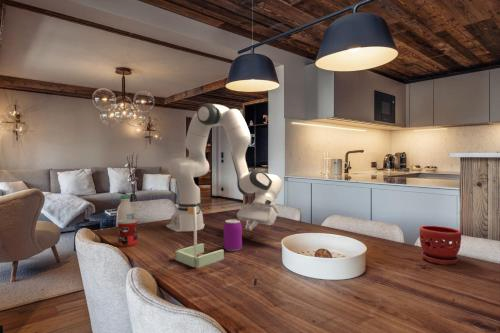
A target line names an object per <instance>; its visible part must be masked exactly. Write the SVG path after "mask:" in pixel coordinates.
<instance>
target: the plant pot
mask: <svg viewBox="0 0 500 333" xmlns="http://www.w3.org/2000/svg"><path fill="white" fill-rule="evenodd" d="M450 242H451V243H450ZM419 243H420V247H421V249H422V252H421V254H420V255H421V257H422V258H423V259H424V260H426V261H428V262H430V263H433V264H437V263H438V264H437V265H453V264H456V263H457V262H458V261H459V257H457V255H458V253H459V252H460V248H461V244H462V231H461V230H459V229H455V228H453V227H449V226H448V227H447V226H439V225H438V226H437V225H422V226H420V227H419Z"/></svg>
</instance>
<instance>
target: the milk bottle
mask: <svg viewBox="0 0 500 333" xmlns="http://www.w3.org/2000/svg"><path fill="white" fill-rule="evenodd" d="M124 219H135V212H134V208H133V205H132V204H131V195H130V194H121V195H120V204H119V207H118V209H117V222H118V221H120V220H124Z"/></svg>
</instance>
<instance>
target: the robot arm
mask: <svg viewBox="0 0 500 333" xmlns="http://www.w3.org/2000/svg"><path fill="white" fill-rule="evenodd" d="M213 127H223V129H224V131H225V135H226V138H227V140H228V143H229V147H230V155H231V159H232V162H233V166H234V170H235V174H236V180H237V181H236V183H237V184H236V185H237V189H238V191H239V192H240V194H242V195H244V196H249V197H250V196H252V195H254V194H256V196H255V198H254V199H253V201H252V203H250V202H247V203H245V204H244V205H242V206H241V208H240V209H239V210H238V211H237V213H236V217H237V219H238V220H240V221H245V222H246V225H245V226H244V229H245V230H248V231H253V229H254V228H255V227H257V226H258V224H260V225H265V226H271V225H273V224H274V223H275V221H276V219H277V217H278V216H277V215H278V213H279V212H280V209H279V207H278V206H277V205H276V203H274V202H275V200H276V199H277V198H278V196H279V194H280V192H281V189H282V186H283V181H282V179H281V178H280V176H278V175H276V174H270V173H266V172H264V171H263V170H262V169H259V168H256V169H255V168H254V169H253V170H251V171H249V169H248V164H247V161H246V153H247V149H248V147H249V145H250V144H251V133H250V130H249V127H248V125H247V122H246V120H245V118H244V117H243V114H242V113H241V112H240V110H239V109H237V108H230V107H228V106H226V105H222V104H217V103H210V102H209V103H203V104H201V105H199V107H198V108H197V111H196V113H194V115H193V117H191V121H190V123H189V126H188V130H187V134H186V137H185V142H184V146H185V148H186V150H188V156H187V157H185V156H182V157H181V156H180V157H177V158H172V159H170V161H169V163H168V166H167V171H168V173H169V175H170V176H171V177H172V178H173V179H174V180H175V182H176V184H177V187H178V191H179V203H178V204H176V207H177V210H176V211H175V212H174V213H173V214H172V215H171V217H170V223H168V224H166V226H165V227H166V228H168V229H170V230H172V231H174V232H177V233H179V232H194V215H193V214H188V207H196V222H197V231H200V230H203V229H204V227H205V223H204V217H203V211H202V202H201V189H200V188H201V187H200V186H199V185H197V184H196V183H195V180H194V178H198V177H199V178H200V177H203V176H205V175H206V174H208V173H209V170H210V163H209V161H208V159H207V158H206V148H207V143H208V139H209V136H210V131H211V129H212V128H213Z"/></svg>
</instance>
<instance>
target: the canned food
mask: <svg viewBox="0 0 500 333" xmlns="http://www.w3.org/2000/svg"><path fill="white" fill-rule="evenodd" d="M117 237H118V238H117V242H118V243H117V244H118V246H119V247H120V248H128V247H129V248H130V247H134V246H136V245H137V244H138V221H137V219H136V218H134V219H124V220H120V221H118V220H117Z"/></svg>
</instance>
